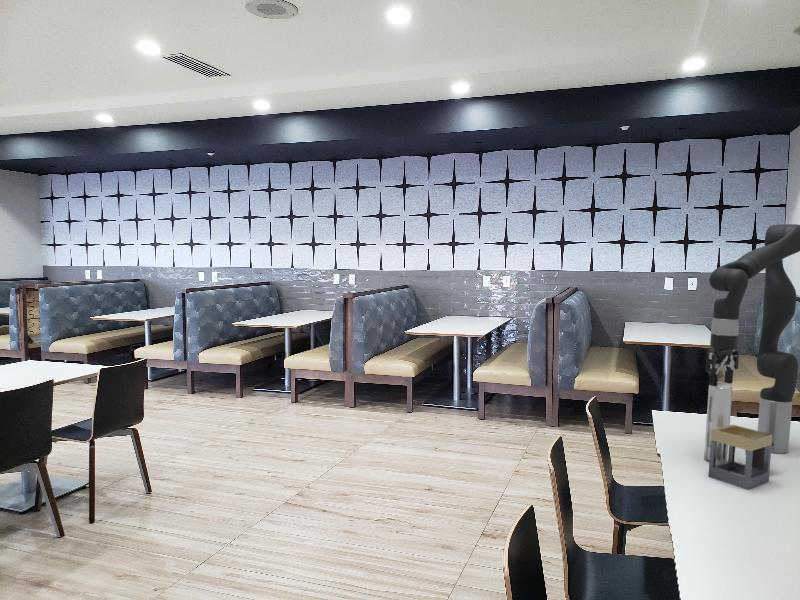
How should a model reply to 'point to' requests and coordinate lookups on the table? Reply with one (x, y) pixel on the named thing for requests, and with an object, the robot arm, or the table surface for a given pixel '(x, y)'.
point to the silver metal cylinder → (718, 418)
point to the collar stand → (749, 442)
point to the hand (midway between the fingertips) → (720, 384)
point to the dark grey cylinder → (759, 457)
